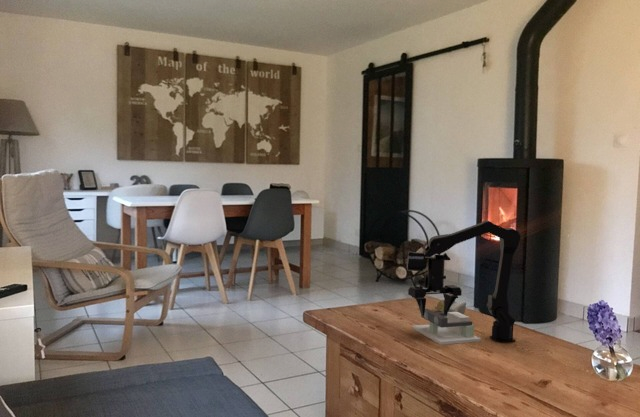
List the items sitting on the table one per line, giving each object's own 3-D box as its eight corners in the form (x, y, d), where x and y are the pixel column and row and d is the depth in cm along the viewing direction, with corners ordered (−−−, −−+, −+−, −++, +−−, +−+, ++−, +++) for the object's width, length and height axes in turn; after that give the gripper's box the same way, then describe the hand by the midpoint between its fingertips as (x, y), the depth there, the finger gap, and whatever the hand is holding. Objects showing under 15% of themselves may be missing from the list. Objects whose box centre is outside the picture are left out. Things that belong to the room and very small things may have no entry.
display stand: (449, 325, 208) (450, 307, 207) (480, 341, 189) (481, 321, 188) (412, 328, 203) (413, 309, 202) (440, 344, 184) (441, 324, 183)
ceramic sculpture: (461, 300, 211) (425, 297, 219) (461, 323, 211) (425, 318, 220) (470, 296, 220) (435, 293, 228) (470, 317, 220) (435, 313, 228)
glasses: (450, 314, 204) (450, 307, 204) (472, 325, 191) (472, 316, 190) (421, 316, 200) (421, 308, 200) (441, 327, 187) (441, 319, 186)
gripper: (446, 267, 203) (444, 308, 204) (401, 268, 197) (400, 310, 198) (463, 272, 193) (461, 315, 194) (416, 274, 187) (414, 318, 188)
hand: (434, 315), depth 194 cm, fingers open, 9 cm apart
